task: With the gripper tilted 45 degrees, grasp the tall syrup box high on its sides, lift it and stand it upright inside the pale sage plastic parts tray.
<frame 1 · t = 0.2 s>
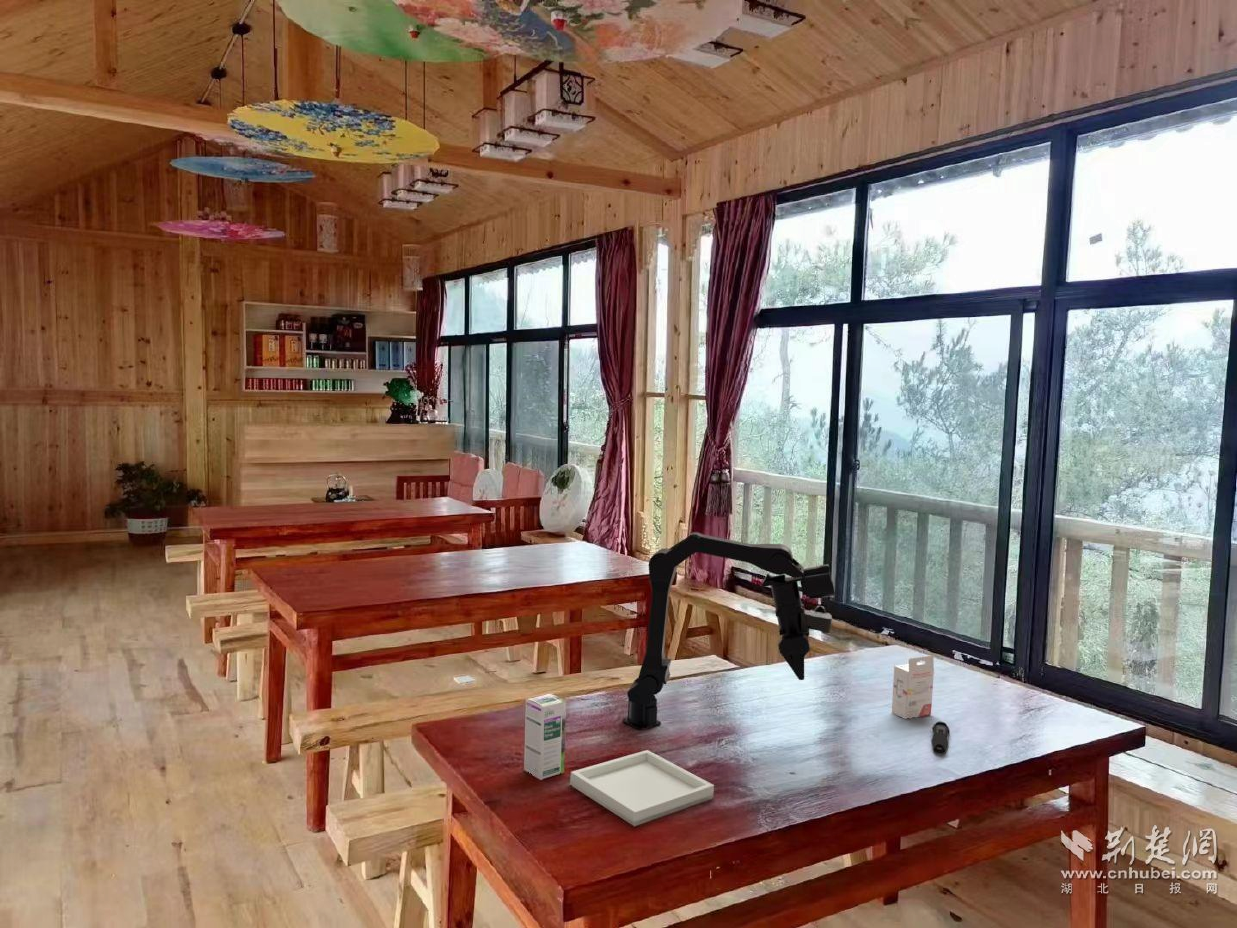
hand: (801, 673, 189), 15 cm above the table, tool pointing down, fingers open, 9 cm apart
ink cartridge box: (910, 714, 212), on the table
electric trimmer: (940, 744, 195), on the table
parts tray: (641, 791, 164), on the table
syrup box: (543, 772, 170), on the table
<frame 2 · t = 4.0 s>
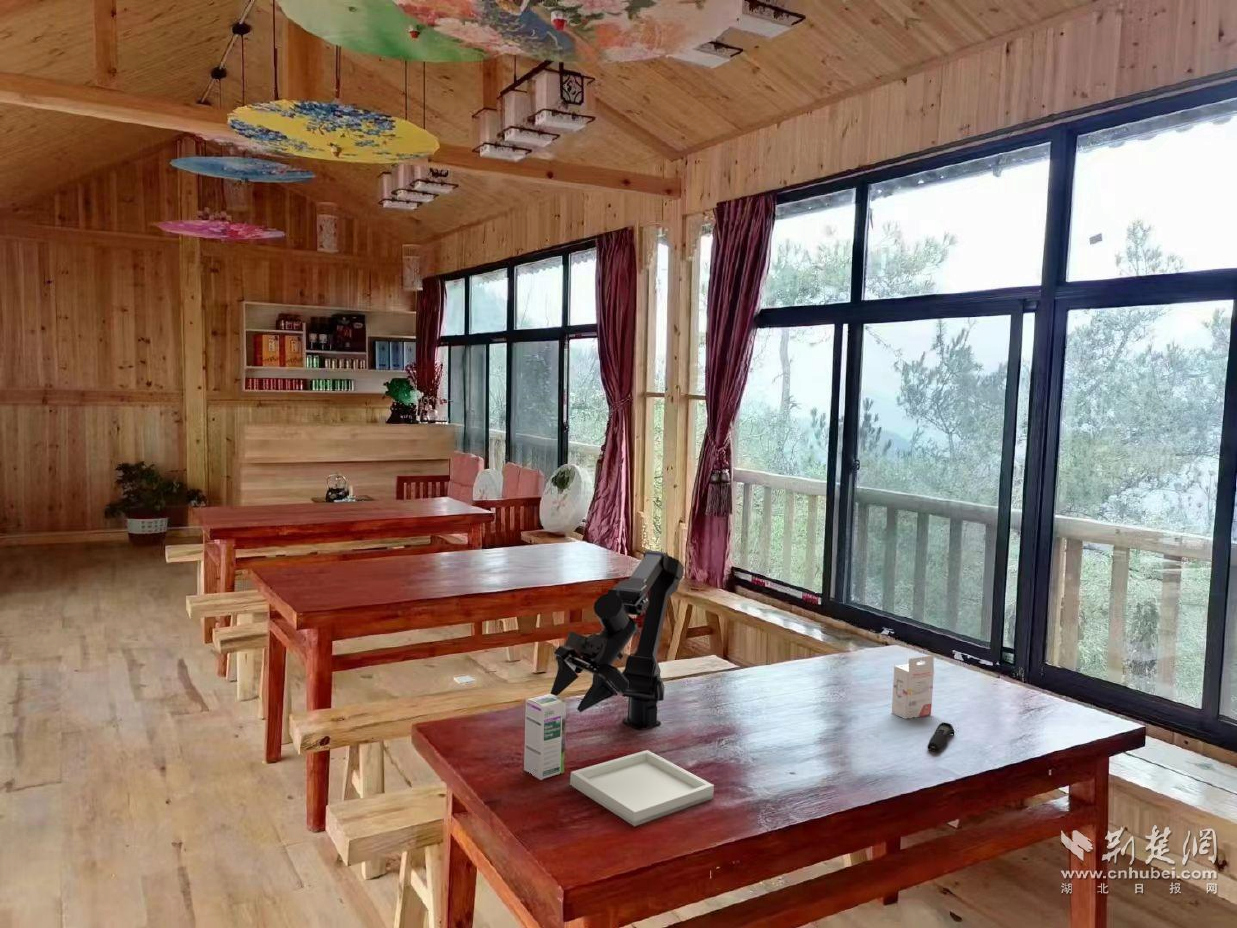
hand: (564, 703, 172), 13 cm above the table, tool tilted 45°, fingers open, 9 cm apart
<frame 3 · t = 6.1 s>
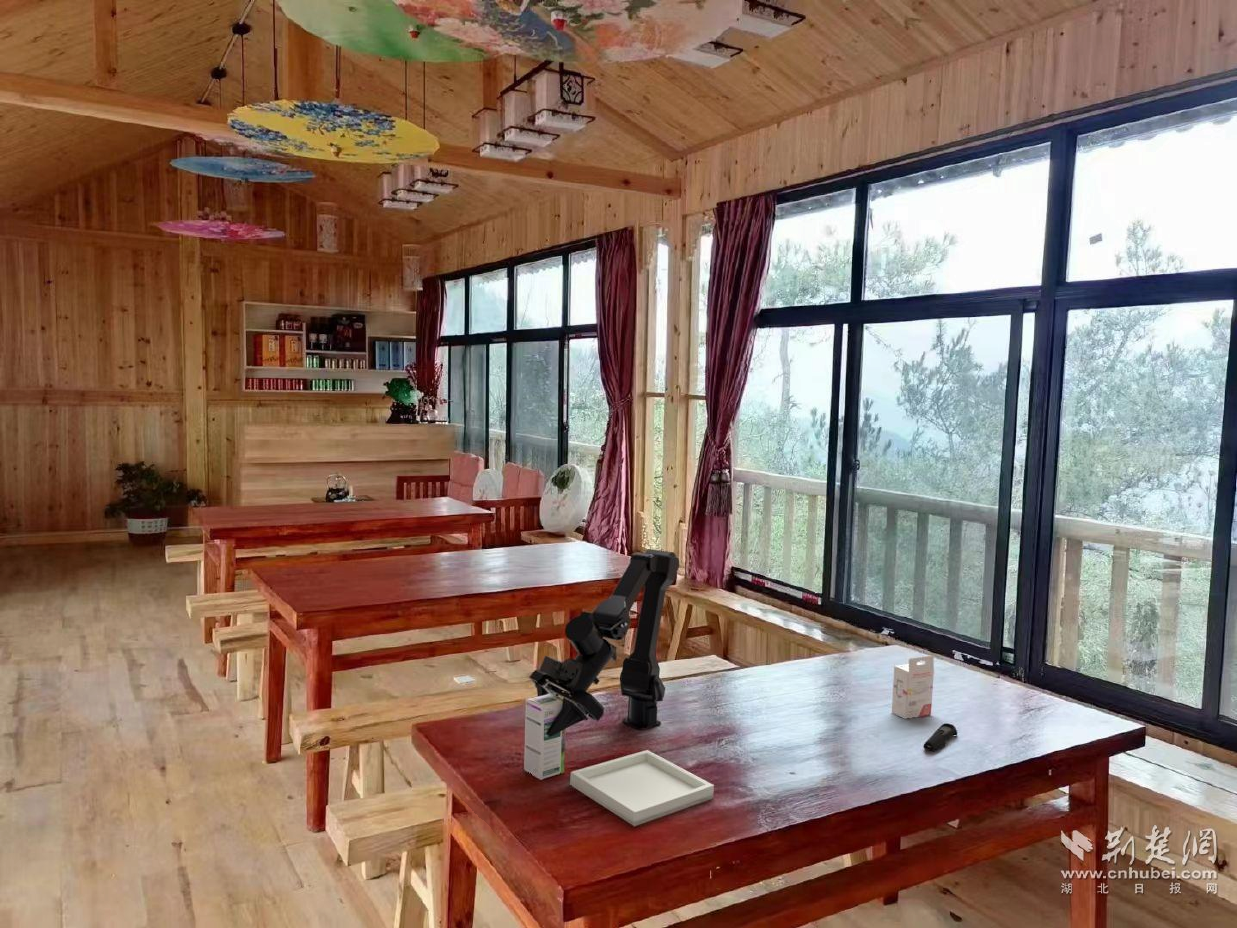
hand: (539, 730, 169), 9 cm above the table, tool tilted 45°, fingers closed on syrup box, 6 cm apart
syrup box: (543, 772, 170), on the table, touching gripper
when the fingers open (10 cm above the table, at t = 13.1 s): syrup box stays where it is, resting on parts tray.
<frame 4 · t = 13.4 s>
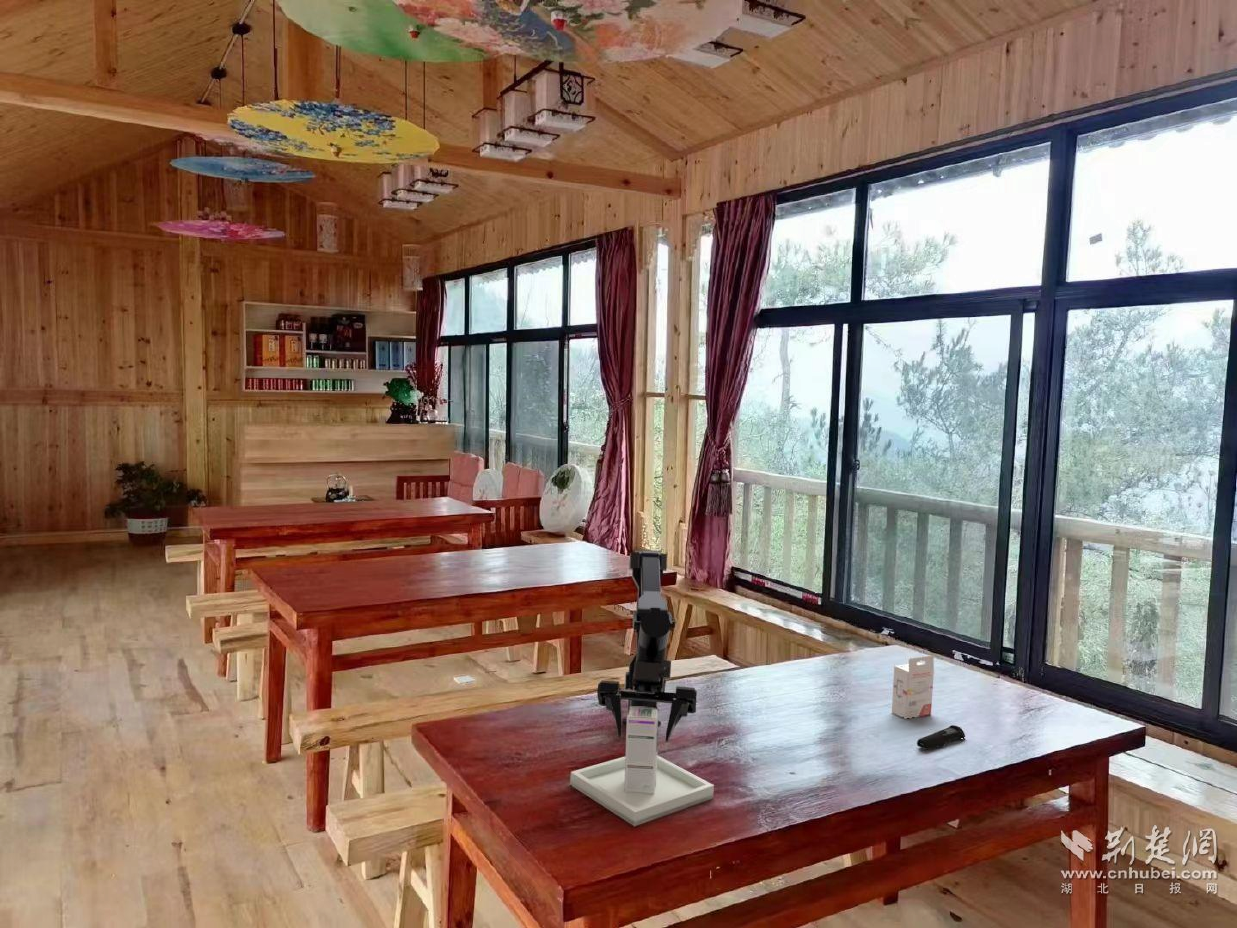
hand: (643, 739, 161), 11 cm above the table, tool tilted 45°, fingers open, 8 cm apart
syrup box: (639, 787, 164), point 1 cm above the table, touching parts tray
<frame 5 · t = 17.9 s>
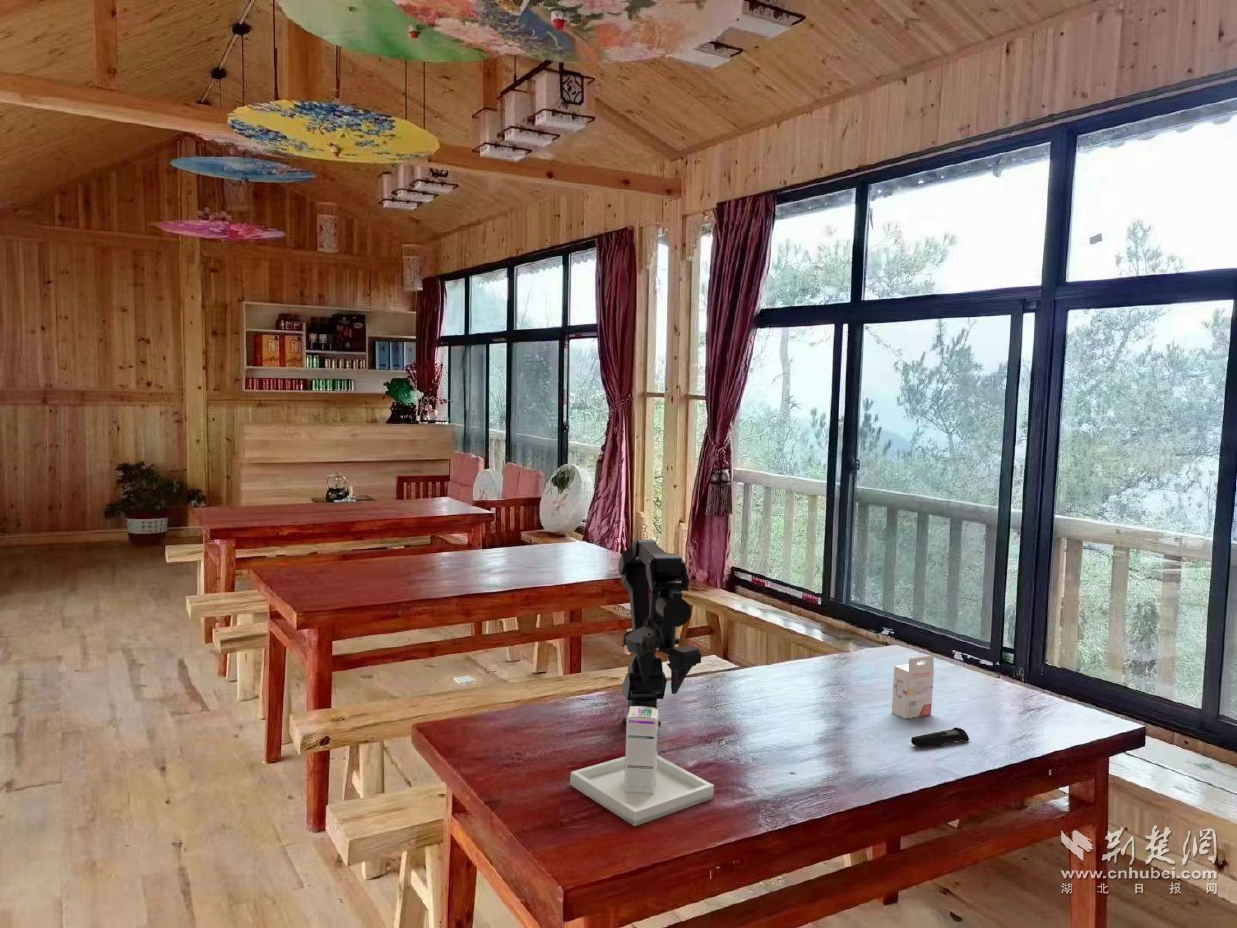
hand: (659, 687, 183), 13 cm above the table, tool pointing down, fingers open, 9 cm apart
at the end: syrup box inside the target area on the parts tray (0.3 cm from its centre), point 0.6 cm above the parts tray's base; syrup box tilted 0°; the gripper is holding nothing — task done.
